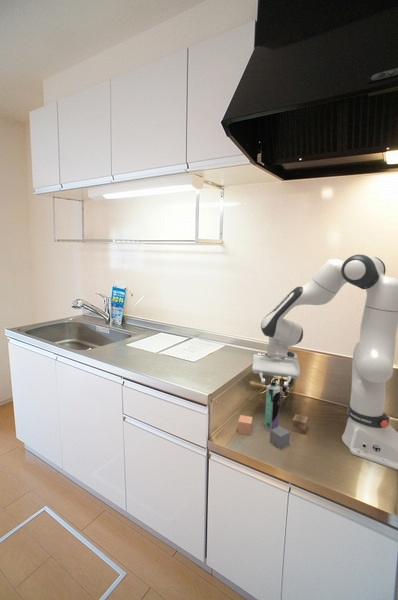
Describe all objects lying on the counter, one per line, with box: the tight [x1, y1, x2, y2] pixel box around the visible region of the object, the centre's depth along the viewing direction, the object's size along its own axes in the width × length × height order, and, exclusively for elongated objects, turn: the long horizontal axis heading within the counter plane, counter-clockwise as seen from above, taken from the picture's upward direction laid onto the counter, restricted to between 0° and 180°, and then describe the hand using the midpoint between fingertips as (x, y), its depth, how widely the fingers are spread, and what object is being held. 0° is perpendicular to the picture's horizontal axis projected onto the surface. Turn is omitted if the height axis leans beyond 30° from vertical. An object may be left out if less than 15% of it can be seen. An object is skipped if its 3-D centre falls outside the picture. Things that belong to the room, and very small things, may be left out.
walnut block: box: [291, 413, 309, 435], centre depth 122 cm, size 5×5×5 cm
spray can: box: [264, 380, 281, 431], centre depth 123 cm, size 6×6×20 cm
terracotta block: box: [237, 414, 253, 436], centre depth 121 cm, size 5×5×5 cm
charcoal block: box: [269, 425, 291, 450], centre depth 114 cm, size 5×5×5 cm
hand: (274, 385), depth 126 cm, fingers open, 8 cm apart
